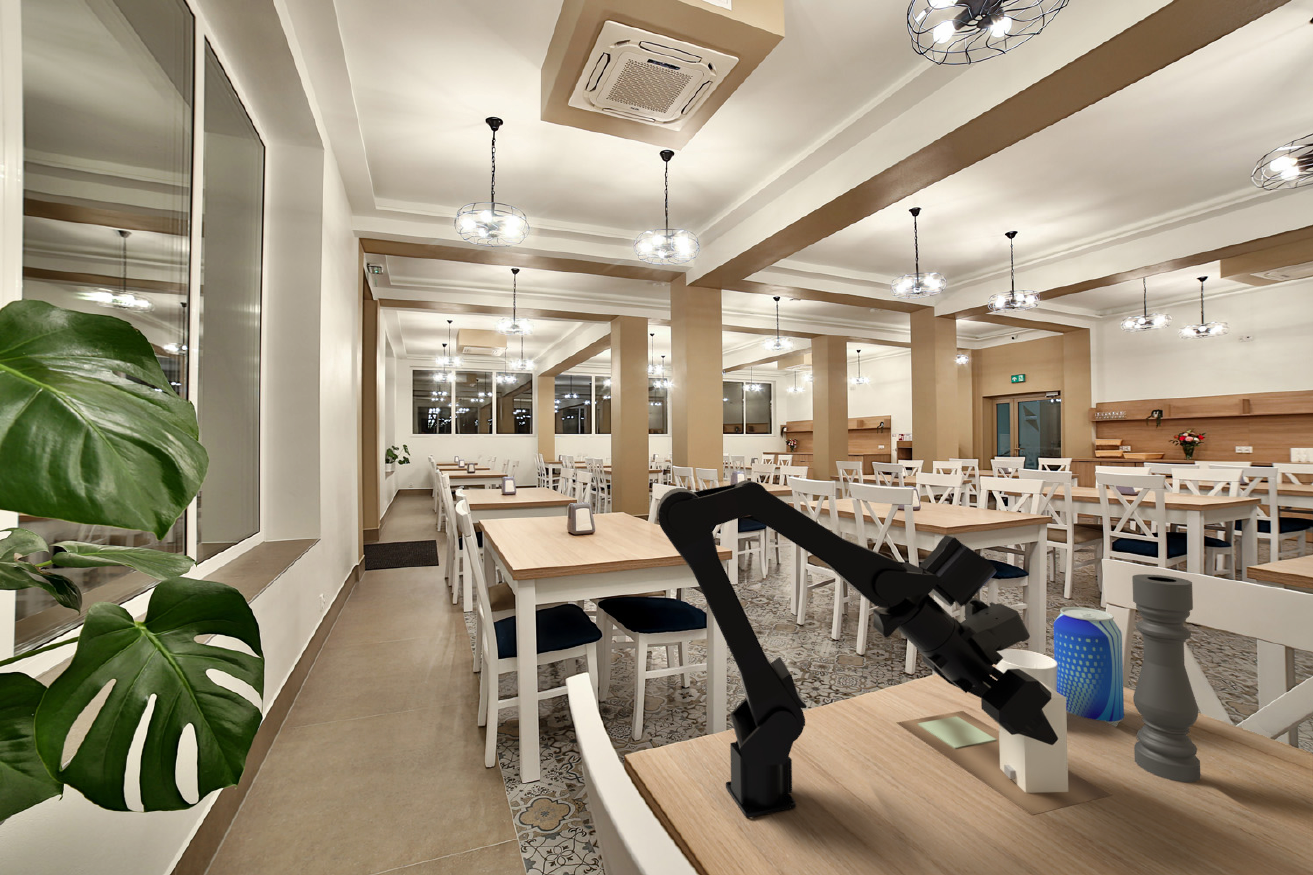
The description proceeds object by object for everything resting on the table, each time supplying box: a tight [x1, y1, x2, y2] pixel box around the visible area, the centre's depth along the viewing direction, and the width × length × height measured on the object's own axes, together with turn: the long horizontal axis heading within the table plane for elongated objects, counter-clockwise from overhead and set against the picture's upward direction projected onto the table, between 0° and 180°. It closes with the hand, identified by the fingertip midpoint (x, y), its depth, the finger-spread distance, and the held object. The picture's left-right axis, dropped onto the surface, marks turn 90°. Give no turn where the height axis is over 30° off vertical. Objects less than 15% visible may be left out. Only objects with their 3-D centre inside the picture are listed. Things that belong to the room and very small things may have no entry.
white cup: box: [995, 648, 1058, 692], centre depth 86 cm, size 8×8×10 cm
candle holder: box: [1132, 573, 1201, 783], centre depth 72 cm, size 6×6×25 cm
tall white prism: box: [998, 681, 1069, 793], centre depth 70 cm, size 6×5×11 cm
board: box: [896, 710, 1113, 816], centre depth 75 cm, size 12×22×6 cm, turn 16°
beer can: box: [1053, 606, 1125, 727], centre depth 88 cm, size 8×8×16 cm
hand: (1028, 721), depth 70 cm, fingers open, 9 cm apart
